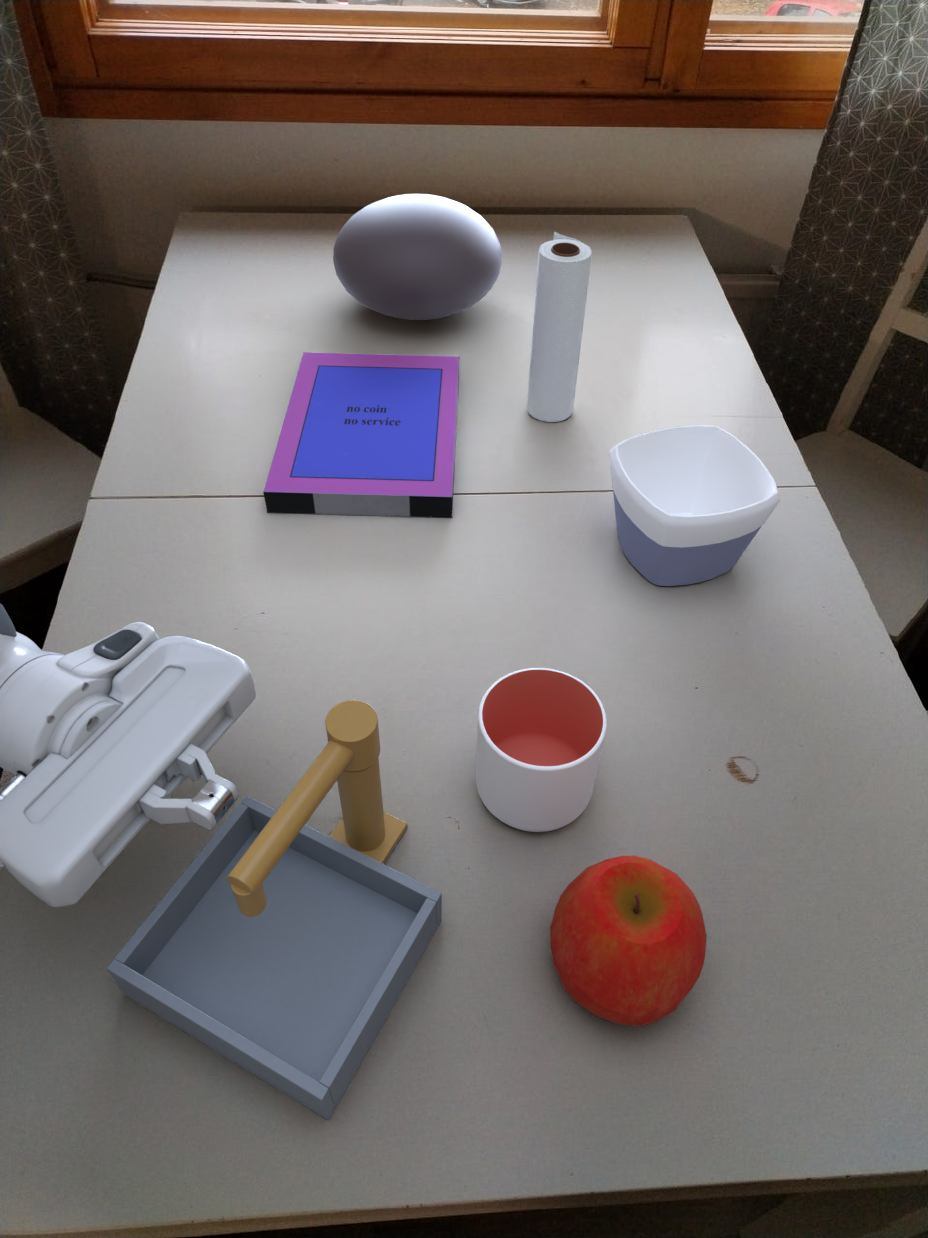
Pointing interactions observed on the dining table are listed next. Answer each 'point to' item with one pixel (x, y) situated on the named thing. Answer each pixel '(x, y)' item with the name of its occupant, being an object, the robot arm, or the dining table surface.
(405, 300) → the smooth stone
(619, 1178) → the dining table surface
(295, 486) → the book
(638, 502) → the bowl
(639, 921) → the apple
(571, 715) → the cup
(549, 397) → the paper towel roll
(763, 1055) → the dining table surface
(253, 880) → the spout
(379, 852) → the faucet base
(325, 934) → the sink
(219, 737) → the robot arm
